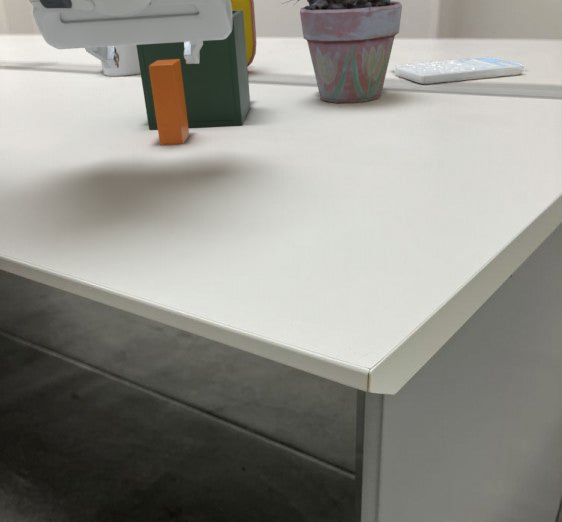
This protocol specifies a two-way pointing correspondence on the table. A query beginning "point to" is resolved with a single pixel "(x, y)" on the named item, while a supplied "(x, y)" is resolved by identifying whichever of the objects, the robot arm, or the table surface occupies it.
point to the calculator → (458, 70)
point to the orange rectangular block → (169, 101)
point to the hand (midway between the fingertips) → (153, 61)
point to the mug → (125, 62)
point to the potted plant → (350, 46)
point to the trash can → (205, 78)
